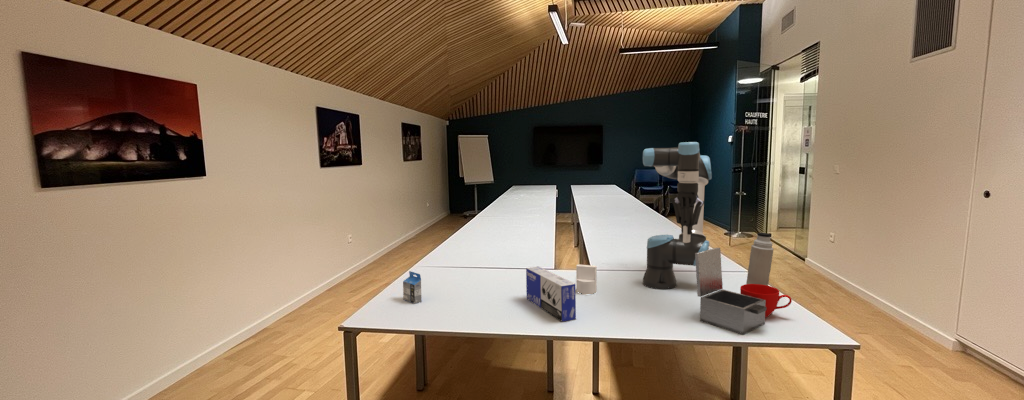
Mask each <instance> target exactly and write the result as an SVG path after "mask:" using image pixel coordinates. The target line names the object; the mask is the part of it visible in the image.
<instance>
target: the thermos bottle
mask: <svg viewBox="0 0 1024 400" xmlns="http://www.w3.org/2000/svg"><path fill="white" fill-rule="evenodd" d="M756 234H757V236H756V239H754V240H753V244H752V245H751V246H750V247H751V248H750V254H749V261H748V262H749V263H748V267H747V275H746V277H747V278H746V283H745V284H761V285H767V286H769V283H770V275H771V269H772V263H773V255H774V247H773V242H772V241H771V239H772V238H771V237H772V234H771V233H767V232H757V233H756Z"/></svg>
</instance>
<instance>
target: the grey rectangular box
mask: <svg viewBox="0 0 1024 400" xmlns="http://www.w3.org/2000/svg"><path fill="white" fill-rule="evenodd" d="M765 304H766V300H764V299H760V298H756V297H752V296H747V295H743V294H741V293H738V292H735V291H734V292H733V291H731V290H726V289H721V290H718V291H715V292H713V293H710V294H707V295H704V296H702V297H700V304H699V305H700V307H699V321H700V322H702V323H705V324H708V325H712V326H714V327H717V328H721V329H723V330H728V331H730V332H733V333H736V334H740V335H746V334H748V333H750V332H751V331H754V330H756V329H757V328H760V327H762V326H764V325H765V324H766V323H765V322H766V317H765V311H766V307H765Z"/></svg>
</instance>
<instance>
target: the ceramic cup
mask: <svg viewBox="0 0 1024 400" xmlns="http://www.w3.org/2000/svg"><path fill="white" fill-rule="evenodd" d="M739 288H740V290H739V291H740V293H739V294H743V295H747V296H752V297H756V298H760V299H764V300H766V304H765V307H766V311H765V318H768V317H769V316H770V315H771V314H773V312H774V311H775V310H780V309H784V308H787V307H789V306H790V305H791V303H792V301H793V300H792V299H793V298H791V296H790V295H788V294H781V295H780V290H779V289H778V288H776V287H773V286H769V285H768V286H767V285H761V284H746V283H745V284H742V285H740V287H739ZM782 298H788V299H789V300H788V303H786V304H784V305H779V306H778V304H779V301H780V300H781V299H782Z"/></svg>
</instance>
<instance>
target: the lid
mask: <svg viewBox="0 0 1024 400" xmlns="http://www.w3.org/2000/svg"><path fill="white" fill-rule="evenodd" d="M721 255H722V253H721V247H715V248H712V249H711V248H709V250H706V251H702V252H699V253H695V260H696V266H695V273H696V293H697V297H698V298H699V297H700V298H701V297H703V296H706V295H708V294H711V293H714V292H717V291H719V290H722V289H723V272H722V271H723V270H722V257H721ZM723 290H724V289H723Z"/></svg>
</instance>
